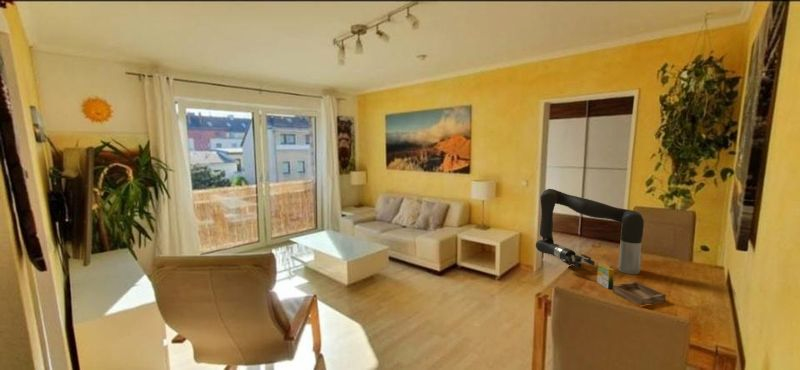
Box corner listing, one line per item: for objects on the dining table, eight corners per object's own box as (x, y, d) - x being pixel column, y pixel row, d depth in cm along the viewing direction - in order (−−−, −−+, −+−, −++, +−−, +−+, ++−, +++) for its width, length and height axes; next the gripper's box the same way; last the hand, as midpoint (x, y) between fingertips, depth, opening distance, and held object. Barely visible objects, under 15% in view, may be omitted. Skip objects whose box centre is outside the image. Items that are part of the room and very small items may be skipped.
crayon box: (613, 288, 160) (614, 265, 158) (607, 289, 160) (609, 266, 158) (601, 282, 167) (603, 260, 165) (596, 282, 167) (598, 260, 165)
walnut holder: (635, 288, 160) (635, 281, 159) (665, 301, 146) (665, 294, 146) (612, 292, 156) (612, 285, 155) (641, 307, 143) (641, 299, 142)
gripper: (554, 249, 186) (576, 259, 170) (575, 246, 190) (598, 256, 174) (553, 261, 187) (576, 273, 172) (574, 258, 191) (597, 269, 175)
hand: (587, 264), depth 173 cm, fingers open, 8 cm apart
